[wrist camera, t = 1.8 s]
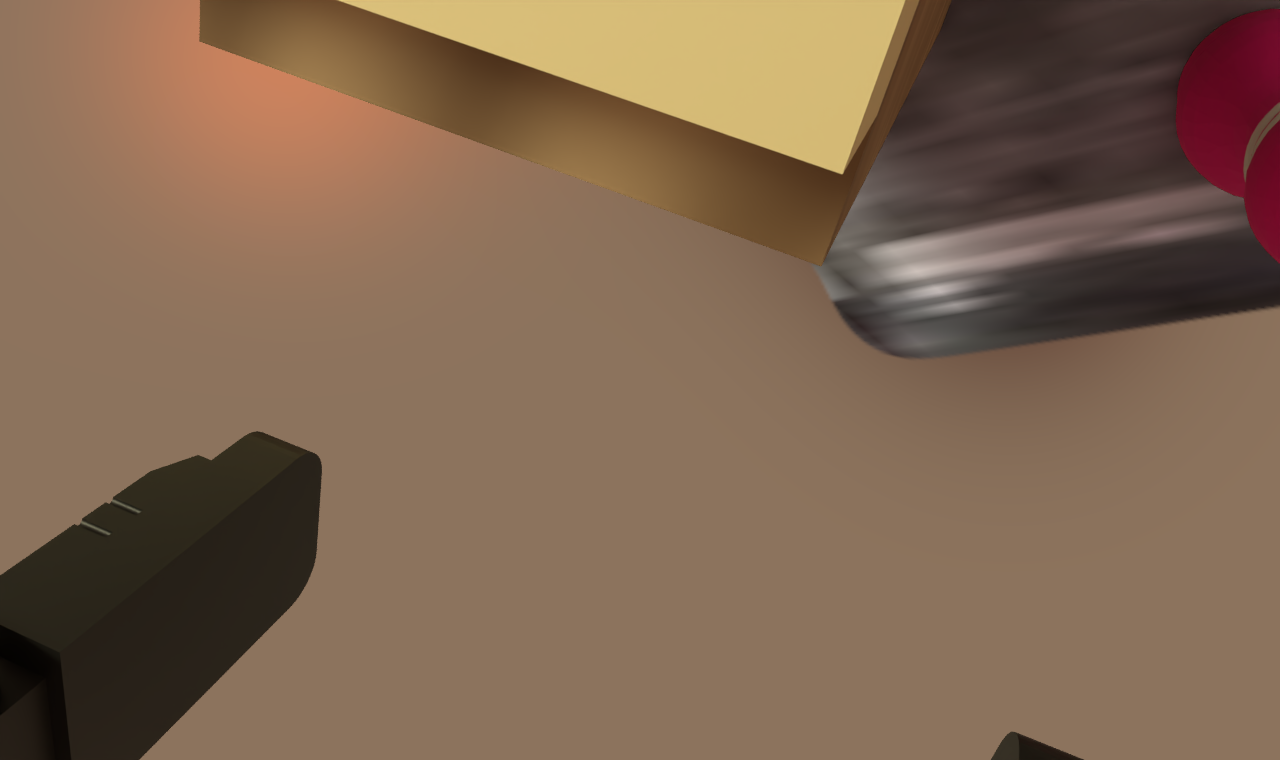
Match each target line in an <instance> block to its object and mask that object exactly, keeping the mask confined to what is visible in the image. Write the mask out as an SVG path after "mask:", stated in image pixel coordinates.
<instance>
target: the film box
mask: <svg viewBox="0 0 1280 760" xmlns="http://www.w3.org/2000/svg"><path fill="white" fill-rule="evenodd" d="M338 1H341V2H344V3H347V4H350V5H353V6H356V7H359V8H362V9H365V10H367V11H370V12H373V13H376V14H379V15H382V16H385V17H388V18H391V19H394V20H396V21H399V22H402V23H405V24H408V25H411V26H414V27H417V28H420V29H422V30H425V31H428V32H431V33H434V34H437V35H440V36H443V37H446V38H449V39H451V40H454V41H457V42H460V43H463V44H466V45H469V46H472V47H475V48H477V49H480V50H483V51H486V52H489V53H492V54H495V55H498V56H501V57H504V58H506V59H509V60H512V61H515V62H518V63H521V64H524V65H527V66H530V67H533V68H535V69H538V70H541V71H544V72H547V73H550V74H553V75H556V76H559V77H561V78H564V79H567V80H570V81H573V82H576V83H579V84H582V85H585V86H588V87H590V88H593V89H596V90H599V91H602V92H605V93H608V94H611V95H614V96H616V97H619V98H622V99H625V100H628V101H631V102H634V103H637V104H640V105H643V106H645V107H648V108H651V109H654V110H657V111H660V112H663V113H666V114H669V115H672V116H674V117H677V118H680V119H683V120H686V121H689V122H692V123H695V124H698V125H700V126H703V127H706V128H709V129H712V130H715V131H718V132H721V133H724V134H727V135H729V136H732V137H735V138H738V139H741V140H744V141H747V142H750V143H753V144H756V145H758V146H761V147H764V148H767V149H770V150H773V151H776V152H779V153H782V154H784V155H787V156H790V157H793V158H796V159H799V160H802V161H805V162H808V163H811V164H813V165H816V166H819V167H822V168H825V169H828V170H831V171H834V172H837V173H839V174H843V173H844V171H845V169H846V168H847V166H848V164H849V162H850V161H851V159H852V157H853V156H854V154H855V152H856V150H857V149H858V147H859V145H860V144H861V142H862V140H863V138H864V137H865V135H866V133H867V132H868V130H869V128H870V127H871V125H872V123H873V121H874V120H875V118H876V116H877V114H878V111H879V108H880V106H881V103H882V100H883V98H884V95H885V92H886V89H887V87H888V84H889V81H890V79H891V76H892V73H893V70H894V68H895V65H896V62H897V60H898V57H899V54H900V51H901V49H902V46H903V43H904V41H905V38H906V35H907V32H908V30H909V27H910V24H911V22H912V19H913V16H914V13H915V11H916V8H917V5H918V2H919V0H338Z"/></svg>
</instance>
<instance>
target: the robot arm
mask: <svg viewBox="0 0 1280 760" xmlns="http://www.w3.org/2000/svg"><path fill="white" fill-rule="evenodd" d="M321 476H322V465H321V461H320V458H319V457H318V456H317V455H316V454H315V453H312V452H310V451H307V450H305V449H302V448H300V447H298V446H295V445H292V444H290V443H288V442H285V441H283V440H280V439H278V438H275V437H273V436H270V435H268V434H265V433H263V432H258V431H257V432H252V433H249V434H247V435H246V436H244V437H243V438H241V439H240V440H239V441H237V442H236V443H235V444H233V445H232V446H230V447H229V448H228V449H226V450H225V451H224V452H222V453H221V454H219V455H218V456H217V457H215V458H214V459H213V460H209V459H206V458H204V457H202V456H199V455H197V456H194V457H191V458H189V459H185V460H182V461H179V462H177V463H174V464H171V465H168V466H165V467H162V468H159V469H156V470H153V471H150V472H149V473H147V474H146V475H145V476H144V477H142V478H140V479H139V480H137V481H136V482H134V483H133V484H132V485H130V486H129V487H127V488H126V489H124V490H123V491H121V492H120V493H119V494H117V495H116V496H114V497H113V500H112V502H111V503H110V504H108V503H104V504H103V505H101V506H100V507H98V508H97V509H96V510H94V511H93V512H91V513H90V514H88V515H87V516H85V517H84V518H83V519H82V522H81V524H80V525H78V526H77V525H75V524H74V525H72V526H71V527H69V528H68V529H67V530H65V531H64V532H62V533H61V534H59V535H58V536H57V537H55V538H54V539H52V540H51V541H49V542H48V543H46V544H45V545H44V546H42V547H41V548H39V549H38V550H36V551H35V552H33V553H32V554H31V555H29V556H28V557H26V558H25V559H23V560H22V561H20V562H19V563H18V564H16V565H15V566H13V567H12V568H10V569H9V570H7V571H6V572H5V573H4V574H2V575H0V760H139V759H140V758H141V757H142V756H143V755H144V754H145V753H146V752H147V751H148V750H149V749H150V748H151V747H152V746H153V745H154V744H155V743H156V742H157V741H158V740H159V739H160V738H161V737H162V736H163V735H164V734H165V733H166V732H167V731H168V730H169V729H170V728H171V727H172V726H173V725H174V724H175V723H176V722H177V721H178V720H179V719H180V718H181V717H182V716H183V715H184V714H185V713H186V712H187V711H188V710H189V709H190V708H191V707H192V706H193V705H194V704H195V703H196V702H197V701H198V700H199V699H200V698H201V697H202V696H203V695H204V694H205V693H206V691H208V689H210V688H211V687H212V686H213V685H214V684H215V683H216V682H217V681H218V680H219V678H220V677H222V675H224V673H225V672H226V671H227V670H228V669H229V668H230V667H231V666H232V665H233V664H234V663H235V662H236V661H237V660H238V659H239V658H240V657H241V656H242V655H243V654H244V653H245V652H246V651H247V650H248V649H249V648H250V647H251V646H252V645H253V644H254V643H255V642H256V641H257V640H258V639H259V638H260V637H261V636H262V635H263V634H264V633H265V632H266V631H267V630H268V629H269V628H270V627H271V626H272V625H273V624H274V623H275V622H276V621H277V620H278V619H279V618H280V617H281V616H282V615H283V614H284V613H285V612H286V611H287V610H288V609H289V608H290V607H291V606H292V604H293V603H294V602H295V601H296V600H297V598H298V597H299V595H300V594H301V592H302V591H303V589H304V587H305V586H306V584H307V582H308V579H309V577H310V575H311V572H312V569H313V567H314V563H315V558H316V551H317V537H318V521H319V506H320V491H321V490H320V489H321ZM991 760H1083V759H1081V758H1078V757H1076V756H1073V755H1071V754H1068V753H1066V752H1063V751H1061V750H1058V749H1056V748H1053V747H1051V746H1048V745H1046V744H1043V743H1041V742H1038V741H1036V740H1033V739H1031V738H1029V737H1026V736H1023V735H1021V734H1019V733H1016V732H1010V733H1009V734H1007V736H1005V738H1004V739H1003V740H1002V742H1001V743H1000V745H999V747H998V749H997V750H996V752H995V754H994V756H993V757H992V759H991Z"/></svg>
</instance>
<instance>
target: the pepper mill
mask: <svg viewBox="0 0 1280 760" xmlns="http://www.w3.org/2000/svg"><path fill="white" fill-rule="evenodd" d="M1176 127H1177V135H1178V138H1179V141H1180V145H1181V148H1182V149H1183V151H1184V153H1185V155H1186V157H1187V159H1188V160H1189V161H1190V163H1191V164H1192V165H1193V166H1194V167H1195V169H1196V170H1197V171H1198V172H1199V173H1200V174H1201V175H1202V176H1204V177H1205V178H1206V179H1207V180H1208V181H1209V182H1211V183H1212V184H1213V185H1214V186H1216V187H1218V188H1220V189H1222V190H1224V191H1226V192H1228V193H1230V194H1232V195H1235V196H1239V197H1243V198H1244V202H1245V208H1246V212H1247V217H1248V221H1249V224H1250V227H1251V229H1252V231H1253V233H1254V234H1255V236H1256V238H1257V240H1258V241H1259V242H1260V243H1261V245H1262V246H1263V247H1264V249H1265V250H1266V251H1267V252H1268V253H1269V254H1270V255H1271V256H1272V257H1273V258H1274V259H1275V260H1276V261H1277V262H1278V263H1280V9H1266V10H1261V11H1255V12H1251V13H1248V14H1245V15H1242V16H1239V17H1236V18H1234V19H1232V20H1230V21H1228V22H1226V23H1225V24H1223V25H1221V26H1220V27H1218V28H1217V29H1216V30H1215V31H1213V32H1212V33H1211V34H1210V35H1209V36H1207V37H1206V38H1205V39H1204V40H1203V41H1202V42H1201V43H1200V44H1199V45H1198V46H1197V48H1196V49H1195V50H1194V51H1193V53H1192V55H1191V56H1190V58H1189V60H1188V61H1187V63H1186V65H1185V66H1184V69H1183V71H1182V74H1181V77H1180V80H1179V85H1178V91H1177V109H1176Z"/></svg>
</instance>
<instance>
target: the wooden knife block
mask: <svg viewBox="0 0 1280 760" xmlns="http://www.w3.org/2000/svg"><path fill="white" fill-rule="evenodd" d="M951 1H952V0H919V2H918V5H917V8H916V11H915V13H914V16H913V19H912V22H911V24H910V27H909V30H908V32H907V35H906V38H905V41H904V43H903V46H902V49H901V51H900V54H899V57H898V60H897V62H896V65H895V68H894V70H893V73H892V76H891V79H890V81H889V84H888V87H887V89H886V92H885V95H884V98H883V100H882V103H881V106H880V108H879V111H878V114H877V116H876V118H875V120H874V121H873V123H872V125H871V127H870V128H869V130H868V132H867V133H866V135H865V137H864V138H863V140H862V142H861V144H860V145H859V147H858V149H857V150H856V152H855V154H854V156H853V157H852V159H851V161H850V162H849V164H848V166H847V168H846V169H845V171H844V173H843V174H839V173H837V172H834V171H831V170H828V169H825V168H822V167H819V166H816V165H813V164H811V163H808V162H805V161H802V160H799V159H796V158H793V157H790V156H787V155H784V154H782V153H779V152H776V151H773V150H770V149H767V148H764V147H761V146H758V145H756V144H753V143H750V142H747V141H744V140H741V139H738V138H735V137H732V136H729V135H727V134H724V133H721V132H718V131H715V130H712V129H709V128H706V127H703V126H700V125H698V124H695V123H692V122H689V121H686V120H683V119H680V118H677V117H674V116H672V115H669V114H666V113H663V112H660V111H657V110H654V109H651V108H648V107H645V106H643V105H640V104H637V103H634V102H631V101H628V100H625V99H622V98H619V97H616V96H614V95H611V94H608V93H605V92H602V91H599V90H596V89H593V88H590V87H588V86H585V85H582V84H579V83H576V82H573V81H570V80H567V79H564V78H561V77H559V76H556V75H553V74H550V73H547V72H544V71H541V70H538V69H535V68H533V67H530V66H527V65H524V64H521V63H518V62H515V61H512V60H509V59H506V58H504V57H501V56H498V55H495V54H492V53H489V52H486V51H483V50H480V49H477V48H475V47H472V46H469V45H466V44H463V43H460V42H457V41H454V40H451V39H449V38H446V37H443V36H440V35H437V34H434V33H431V32H428V31H425V30H422V29H420V28H417V27H414V26H411V25H408V24H405V23H402V22H399V21H396V20H394V19H391V18H388V17H385V16H382V15H379V14H376V13H373V12H370V11H367V10H365V9H362V8H359V7H356V6H353V5H350V4H347V3H344V2H341V1H338V0H200V42H203V43H206V44H209V45H211V46H214V47H217V48H219V49H222V50H225V51H228V52H230V53H233V54H236V55H239V56H242V57H244V58H247V59H250V60H252V61H255V62H258V63H261V64H264V65H266V66H269V67H272V68H275V69H277V70H280V71H283V72H286V73H289V74H291V75H294V76H297V77H300V78H302V79H305V80H308V81H311V82H313V83H316V84H319V85H321V86H324V87H327V88H330V89H333V90H336V91H338V92H341V93H344V94H346V95H349V96H352V97H355V98H358V99H360V100H363V101H366V102H368V103H372V104H375V105H377V106H380V107H382V108H385V109H388V110H391V111H393V112H396V113H399V114H402V115H404V116H407V117H410V118H413V119H415V120H418V121H421V122H424V123H426V124H429V125H432V126H435V127H438V128H440V129H443V130H446V131H449V132H451V133H454V134H457V135H460V136H462V137H465V138H468V139H471V140H473V141H476V142H479V143H482V144H484V145H487V146H490V147H493V148H496V149H498V150H501V151H504V152H507V153H510V154H512V155H515V156H518V157H521V158H523V159H526V160H529V161H531V162H534V163H537V164H540V165H542V166H545V167H548V168H551V169H554V170H556V171H559V172H562V173H565V174H567V175H570V176H573V177H576V178H579V179H581V180H584V181H587V182H590V183H592V184H595V185H598V186H601V187H603V188H606V189H609V190H612V191H615V192H617V193H620V194H623V195H625V196H628V197H631V198H634V199H636V200H639V201H642V202H645V203H647V204H650V205H653V206H656V207H659V208H661V209H664V210H667V211H670V212H672V213H675V214H678V215H681V216H683V217H686V218H689V219H692V220H694V221H697V222H700V223H703V224H705V225H708V226H711V227H714V228H717V229H719V230H722V231H725V232H728V233H730V234H733V235H736V236H739V237H741V238H744V239H747V240H750V241H752V242H755V243H758V244H761V245H763V246H766V247H769V248H772V249H775V250H778V251H780V252H783V253H786V254H789V255H791V256H794V257H797V258H799V259H802V260H805V261H808V262H810V263H813V264H816V265H819V266H822V264H823V262H824V260H825V258H826V256H827V254H828V252H829V250H830V248H831V246H832V244H833V242H834V240H835V238H836V236H837V234H838V232H839V230H840V228H841V226H842V224H843V222H844V220H845V218H846V216H847V214H848V212H849V210H850V208H851V206H852V204H853V202H854V200H855V198H856V196H857V194H858V192H859V190H860V188H861V186H862V185H863V183H864V181H865V179H866V177H867V175H868V173H869V171H870V169H871V167H872V165H873V163H874V161H875V159H876V157H877V155H878V153H879V151H880V149H881V147H882V145H883V143H884V141H885V139H886V137H887V135H888V133H889V131H890V129H891V127H892V125H893V123H894V121H895V119H896V117H897V115H898V113H899V111H900V109H901V107H902V105H903V103H904V101H905V99H906V97H907V95H908V93H909V91H910V89H911V87H912V85H913V83H914V81H915V79H916V77H917V75H918V73H919V71H920V70H921V68H922V66H923V64H924V62H925V60H926V58H927V56H928V54H929V52H930V50H931V48H932V46H933V44H934V42H935V40H936V38H937V36H938V34H939V32H940V30H941V27H942V24H943V22H944V19H945V16H946V14H947V11H948V9H949V6H950V3H951Z"/></svg>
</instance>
